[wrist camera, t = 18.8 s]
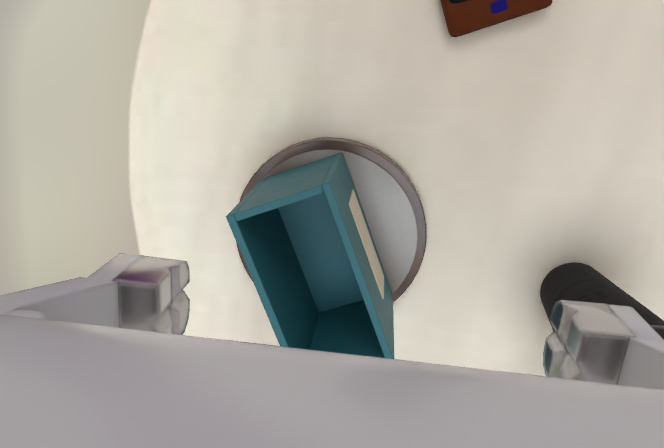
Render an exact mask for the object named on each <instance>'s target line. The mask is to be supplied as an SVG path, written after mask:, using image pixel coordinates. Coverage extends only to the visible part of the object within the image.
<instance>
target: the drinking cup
mask: <svg viewBox="0 0 664 448" xmlns="http://www.w3.org/2000/svg"><path fill="white" fill-rule="evenodd" d="M540 295H541V300H542V303H543V306H544V308H545V311H546V313H547V316H548V319H549V321H550V318H551V313H552V309H553V307H554V305H555V302H557V301H559V300H567V301H579V302H591V303H603V304H607V305H619V306H629V307H632V308H633V309H634V310H635V311H636V312H637V313H638V314H639V315H640V316H641V317H642V318H643V319H644V320H645V321H646V322H647V323H648V324H649V325H650V326H651V327H652V328H653V329H654V330H655V331H656V332H657V333H658V334H659V335H660V336H661V338H662V339H663V340H664V321H663V320H662V319H661V318H659V317H658V316H657V315H655V314H654V313H652V312H651V311H650V310H648V309H647V308H646V307H644V306H643V305H642V304H640V303H639V302H638V301H636V300H635V299H634V298H632V297H631V296H630V295H628V294H627V293H626V292H624V291H623V290H621V289H620V288H619V287H617V286H616V285H615V284H613V283H612V282H611V281H609V280H608V279H607V278H605V277H604V276H603V275H601V274H600V273H599V272H597V271H596V270H594V269H593V268H592V267H590V266H588V265H585V264H582V263H568V264H564V265H561V266H559V267H557V268H555V269H553V270H552V271H551V272H550V273H549V274H548V275H547V276H546V277H545V279H544V281H543V283H542V286H541V291H540ZM550 324H551V326H552V329H553V331H555V329H554V327H553V325H552V323H551V321H550Z"/></svg>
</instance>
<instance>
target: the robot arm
mask: <svg viewBox="0 0 664 448" xmlns="http://www.w3.org/2000/svg"><path fill="white" fill-rule="evenodd" d="M188 282H189V266H188V263H187V261H182V260H173V259H165V258H157V257H149V256H143V255H136V254H125V253H119V254H118V255H117V256H115V257H114V258H113V259H111V260H110V261H109V262H107V263H106V264H105V265H103V266H102V267H101V268H100V269H98V270H97V271H96V272H94V273H93V274H91V275H90V276H89V277H88V278H82V277H79V278H75V279H70V280H66V281H62V282H57V283H53V284H49V285H44V286H40V287H35V288H32V289H27V290H22V291H18V292H14V293H9V294H6V295H1V296H0V448H664V340H663V339H662V338H661V336H660V335H659V334H658V333H657V332H656V331H655V330H654V329H653V328H652V327H651V326H650V325H649V324H648V323H647V322H646V321H645V320H644V319H643V318H642V317H641V316H640V315H639V314H638V313H637V312H636V311H635V310H634V309H633V308H632V307H629V306H619V305H607V304H603V303H591V302H579V301H567V300H559V301H557V302H555V305H554V307H553V309H552V313H551V318H550V321H551V323H552V325H553V327H554V329H555V331H554V332H553V333H552V334H551V335H549V336H548V337H547V338H546V341H545V347H544V352H543V366H544V370H545V374H546V376H537V375H529V374H520V373H511V372H502V371H494V370H485V369H476V368H467V367H458V366H450V365H441V364H432V363H423V362H414V361H406V360H397V359H388V358H379V357H371V356H362V355H353V354H344V353H335V352H327V351H318V350H309V349H300V348H291V347H283V346H274V345H265V344H256V343H247V342H239V341H230V340H221V339H212V338H204V337H195V336H186V335H183V333H184V332H185V328H186V325H187V322H188V317H189V306H190V299H189V298H188V296H187V295H186V294H185V292H184V291H183V289H184V287H185V286H186V285H187V284H188Z"/></svg>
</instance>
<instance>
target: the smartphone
mask: <svg viewBox="0 0 664 448" xmlns="http://www.w3.org/2000/svg"><path fill="white" fill-rule="evenodd" d="M441 4H442V8H443V12H444V16H445V20H446V23H447V27H448V31H449V34H450V35H451V36H452V37H458V36H461V35H464V34H467V33H470V32H473V31H477V30H480V29H483V28H486V27H489V26H492V25H495V24H498V23H501V22H504V21H507V20H510V19H513V18H516V17H519V16H522V15H525V14H528V13H531V12H534V11H537V10H540V9H543V8H546V7H548V6H550V5H551V4H552V0H441Z"/></svg>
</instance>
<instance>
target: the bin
mask: <svg viewBox="0 0 664 448" xmlns="http://www.w3.org/2000/svg"><path fill="white" fill-rule="evenodd" d="M226 218H227V220H228V222H229V225H230V227H231V230H232V232H233V234H234V237H235V239H236V242H237V244H238V246H239V249H240V251H241V253H242V256H243V258H244V261H245V263H246V265H247V268H248V270H249V273H250V275H251V277H252V280H253V282H254V285H255V287H256V289H257V292H258V294H259V296H260V299H261V301H262V304H263V306H264V308H265V311H266V313H267V316H268V318H269V320H270V323H271V325H272V328H273V330H274V332H275V335H276V337H277V339H278V342H279V344H280V346H283V347H291V348H300V349H309V350H318V351H327V352H335V353H344V354H353V355H362V356H371V357H379V358H388V359H394V328H393V294H392V291H391V288H390V285H389V283H388V280H387V277H386V274H385V271H384V268H383V265H382V263H381V260H380V257H379V254H378V251H377V248H376V245H375V243H374V240H373V237H372V234H371V231H370V228H369V225H368V223H367V220H366V217H365V214H364V211H363V208H362V205H361V203H360V200H359V197H358V194H357V191H356V188H355V185H354V183H353V180H352V177H351V174H350V171H349V168H348V165H347V163H346V160H345V157H344V154H343V152H340V153H337V154H335V155H332V156H329V157H326V158H323V159H320V160H317V161H314V162H311V163H308V164H305V165H302V166H299V167H296V168H293V169H290V170H287V171H284V172H281V173H278V174H275V175H272V176H269V177H266V178H263V179H262V180H261V181H260V182H259V183H258V184H257V185H256V186H255V187H254V188H253V189H252V190H251V191H250V192H249V193H248V194H247V195H246V196H245V197H244V198H243V200H242V201H241V202H240V203H239V204H238V205H237V206H236V207H235V208H234V209H233V210H232V211H231V212H230V213H229V214H228V215H227V216H226Z"/></svg>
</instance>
